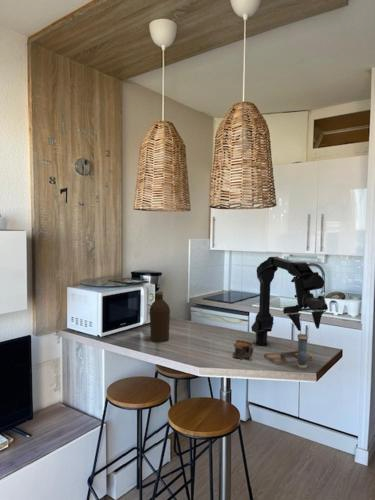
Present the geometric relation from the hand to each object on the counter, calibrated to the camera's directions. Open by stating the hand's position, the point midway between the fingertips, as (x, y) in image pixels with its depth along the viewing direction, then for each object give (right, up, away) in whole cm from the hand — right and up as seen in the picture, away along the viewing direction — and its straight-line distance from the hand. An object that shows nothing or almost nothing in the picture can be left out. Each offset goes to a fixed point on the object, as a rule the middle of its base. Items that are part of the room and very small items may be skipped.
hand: (308, 329), depth 151 cm
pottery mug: (-25, -15, +13) cm, 32 cm away
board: (-6, -15, +11) cm, 19 cm away
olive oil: (-64, -14, +40) cm, 77 cm away
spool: (-2, -15, +1) cm, 16 cm away
